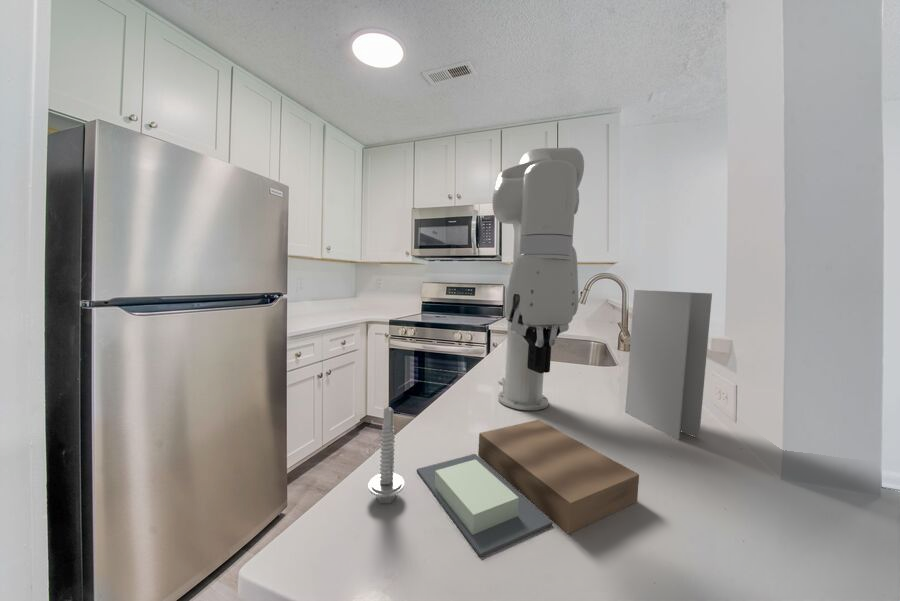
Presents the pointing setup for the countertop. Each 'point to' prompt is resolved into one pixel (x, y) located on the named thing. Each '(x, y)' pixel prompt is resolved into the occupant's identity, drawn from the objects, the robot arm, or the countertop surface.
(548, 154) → the robot arm
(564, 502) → the brown wooden flat block
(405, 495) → the countertop surface
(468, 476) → the tile
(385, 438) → the screw
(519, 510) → the mat
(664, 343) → the brochure
